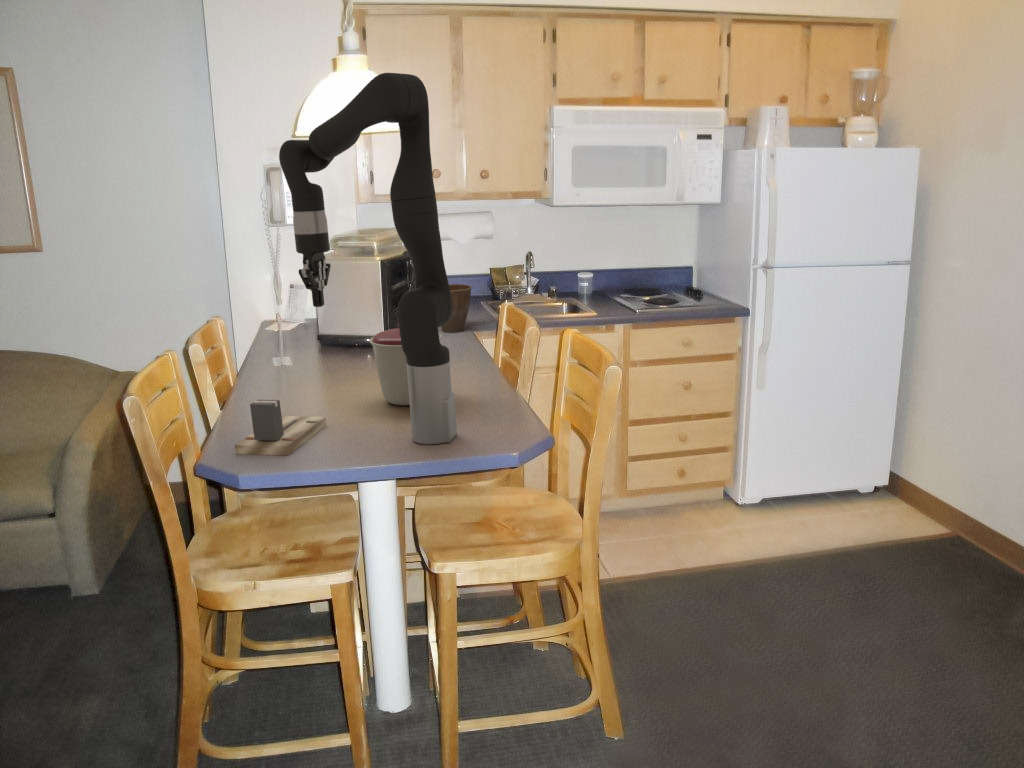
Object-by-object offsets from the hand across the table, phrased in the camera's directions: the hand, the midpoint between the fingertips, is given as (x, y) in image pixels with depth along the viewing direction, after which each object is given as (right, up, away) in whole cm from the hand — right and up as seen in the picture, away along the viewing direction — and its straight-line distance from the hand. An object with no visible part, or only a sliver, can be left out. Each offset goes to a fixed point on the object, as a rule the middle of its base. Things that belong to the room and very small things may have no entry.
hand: (318, 306), depth 182 cm
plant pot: (+24, +1, +102) cm, 105 cm away
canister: (+19, -23, +18) cm, 35 cm away
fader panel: (-6, -31, -8) cm, 32 cm away
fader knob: (-7, -30, -15) cm, 34 cm away
